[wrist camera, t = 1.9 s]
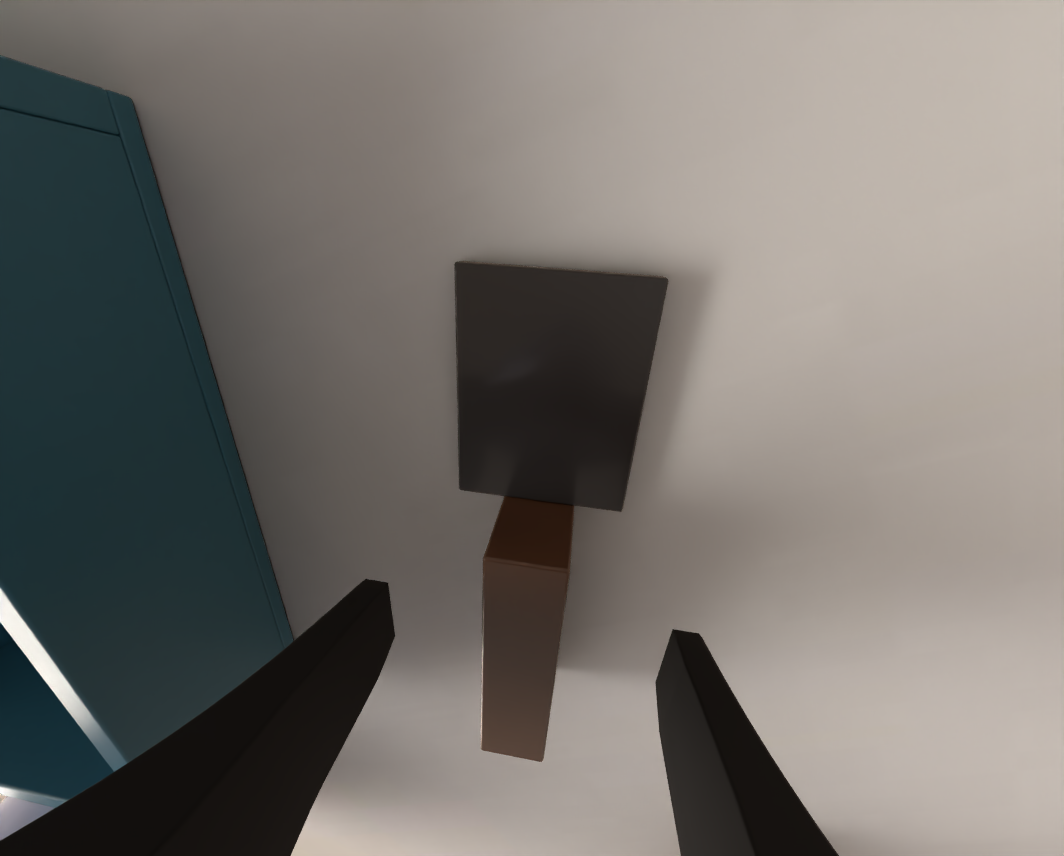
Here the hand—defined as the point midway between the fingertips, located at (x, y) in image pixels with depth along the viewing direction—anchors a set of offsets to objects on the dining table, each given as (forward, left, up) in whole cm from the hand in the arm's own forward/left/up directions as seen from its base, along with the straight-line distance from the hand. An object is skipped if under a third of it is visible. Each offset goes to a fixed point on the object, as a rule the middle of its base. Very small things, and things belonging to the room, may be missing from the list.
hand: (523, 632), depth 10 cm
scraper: (+1, 0, -3) cm, 3 cm away
